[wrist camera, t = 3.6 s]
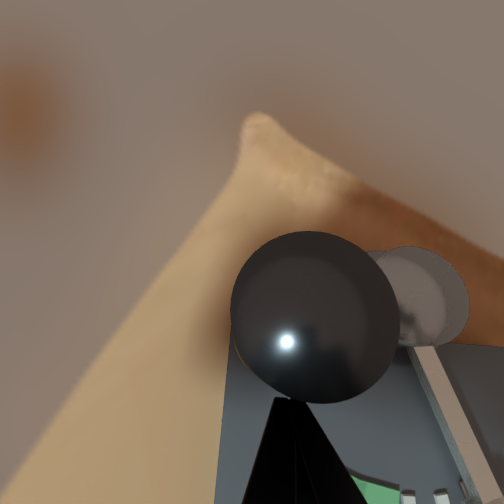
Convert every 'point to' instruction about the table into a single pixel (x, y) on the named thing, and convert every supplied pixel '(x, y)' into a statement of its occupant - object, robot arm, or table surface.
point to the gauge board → (378, 427)
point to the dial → (356, 329)
